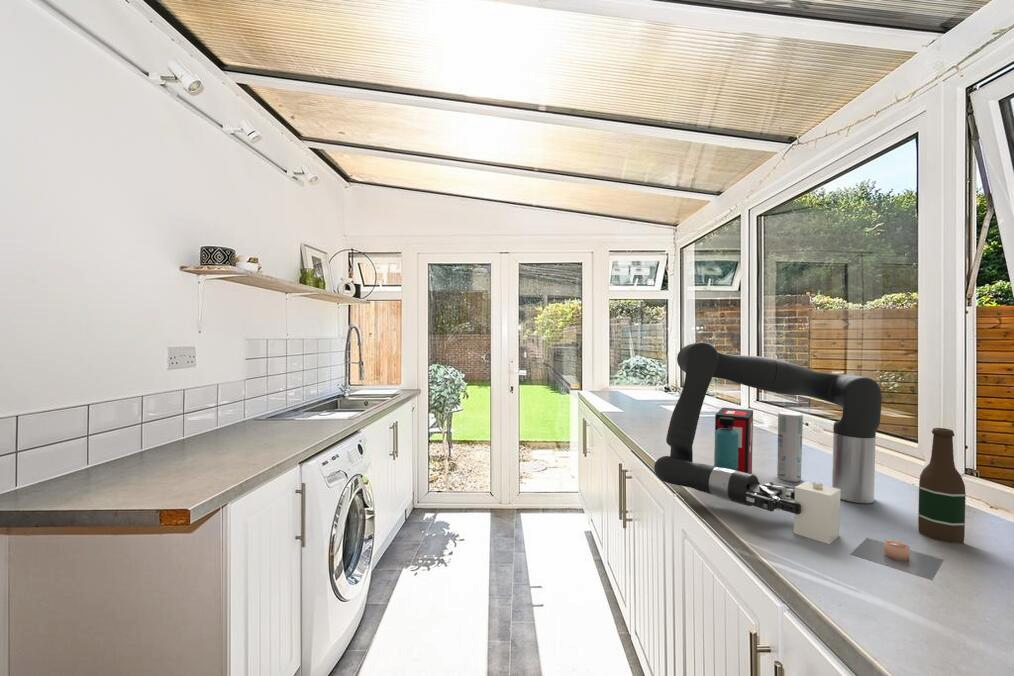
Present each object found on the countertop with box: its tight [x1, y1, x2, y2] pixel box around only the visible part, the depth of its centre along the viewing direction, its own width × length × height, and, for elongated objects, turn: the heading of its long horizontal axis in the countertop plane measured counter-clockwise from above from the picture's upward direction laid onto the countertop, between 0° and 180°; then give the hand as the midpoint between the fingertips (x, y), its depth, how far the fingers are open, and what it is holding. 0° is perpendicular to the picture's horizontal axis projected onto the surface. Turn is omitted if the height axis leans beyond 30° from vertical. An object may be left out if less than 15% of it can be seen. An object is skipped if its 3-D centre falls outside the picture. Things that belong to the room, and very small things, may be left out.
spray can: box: [776, 411, 804, 482], centre depth 142 cm, size 6×6×20 cm
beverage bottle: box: [713, 417, 739, 471], centre depth 133 cm, size 6×7×20 cm
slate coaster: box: [849, 537, 944, 581], centre depth 90 cm, size 12×12×1 cm
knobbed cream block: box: [793, 480, 841, 545], centre depth 100 cm, size 7×7×11 cm
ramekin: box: [883, 539, 911, 562], centre depth 90 cm, size 4×4×2 cm
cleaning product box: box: [714, 407, 754, 474], centre depth 143 cm, size 16×9×20 cm, turn 148°
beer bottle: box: [917, 427, 966, 545], centre depth 100 cm, size 8×8×24 cm
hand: (808, 505), depth 101 cm, fingers open, 8 cm apart
